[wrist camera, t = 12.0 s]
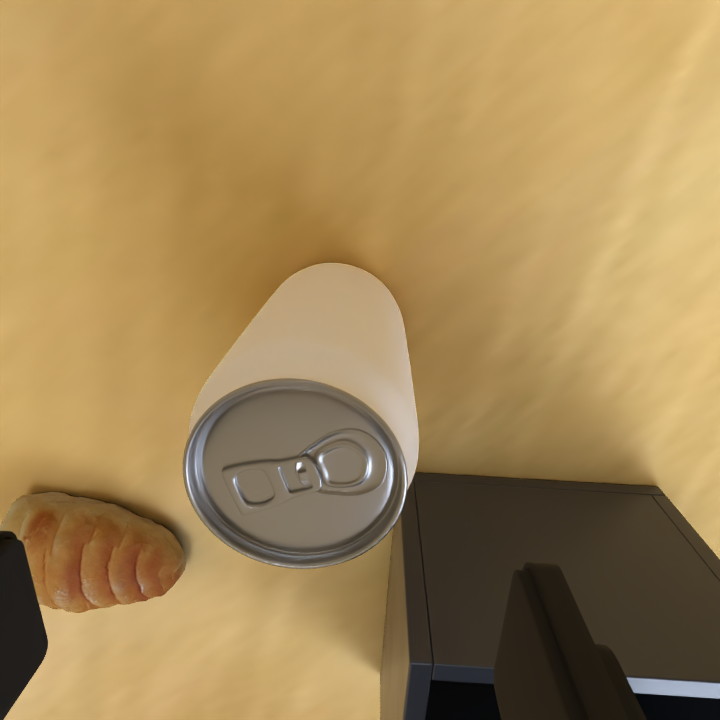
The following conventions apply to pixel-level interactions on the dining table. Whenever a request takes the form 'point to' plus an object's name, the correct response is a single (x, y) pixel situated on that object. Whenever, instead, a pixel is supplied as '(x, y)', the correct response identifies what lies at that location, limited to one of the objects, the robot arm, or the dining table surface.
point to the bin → (584, 577)
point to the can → (308, 424)
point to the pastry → (92, 552)
